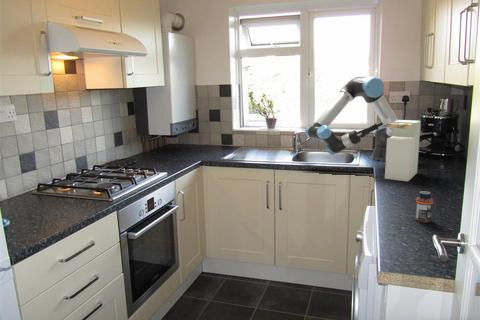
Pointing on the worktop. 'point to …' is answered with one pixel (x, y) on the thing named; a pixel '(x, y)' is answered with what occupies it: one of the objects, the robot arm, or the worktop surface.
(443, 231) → the worktop surface
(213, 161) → the worktop surface
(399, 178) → the tall pale green block
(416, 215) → the supplement bottle
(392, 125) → the t-shaped wooden block
